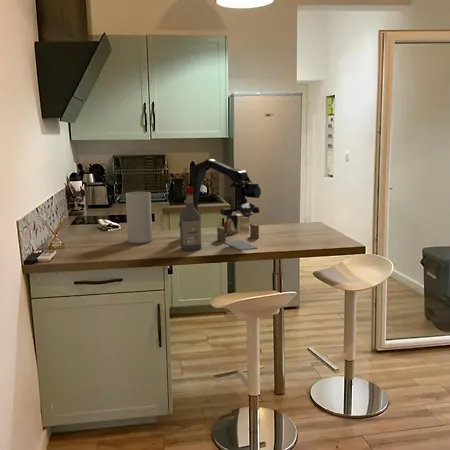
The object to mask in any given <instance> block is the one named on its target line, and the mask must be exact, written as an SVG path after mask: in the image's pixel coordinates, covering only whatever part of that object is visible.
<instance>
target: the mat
mask: <svg viewBox="0 0 450 450" xmlns="http://www.w3.org/2000/svg"><path fill="white" fill-rule="evenodd" d="M223 244H225V245H226V246H229V247H230V248H233V249H234V250H236V251H238V252H239V251H249V250H255V249H258V247H257V246H255V245H253V244H251V243H249V242H247V241H244V240H242V239H241V240H232V241H230V240H229V241H226V242H223Z"/></svg>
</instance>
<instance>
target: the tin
mask: <svg viewBox="0 0 450 450" xmlns="http://www.w3.org/2000/svg"><path fill="white" fill-rule="evenodd" d="M223 228H225V235H226V236H227V235H228V236H232V235H236V234H237V233H236V232H234V231H232V230H231V218H229V219H226V220H225V221H224V223H223Z"/></svg>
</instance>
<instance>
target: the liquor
mask: <svg viewBox="0 0 450 450" xmlns="http://www.w3.org/2000/svg"><path fill="white" fill-rule="evenodd" d="M185 195H186V197H185V198H186V199H185V203H186V204H185V208H183V210H182V211H181V212H180V214H179V223H180V226H179V232H180V233H179V234H180V236H179V237H180V238H179V239H180V241H179V242H180V248H181V249H182V250H183V251H186V252H193V251H199V250H201V249H202V217H201V214H199V213H198V211H199V210H198V211H197V210H196V209H195V208H194V205H193V187H191V186H185Z"/></svg>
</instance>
